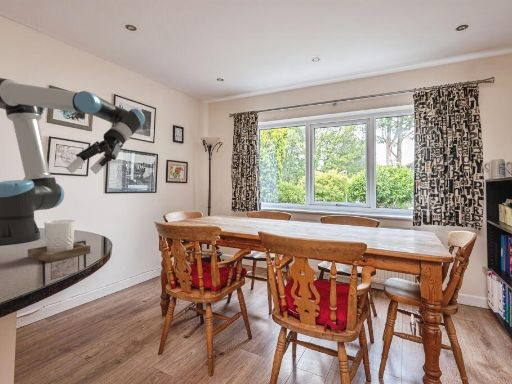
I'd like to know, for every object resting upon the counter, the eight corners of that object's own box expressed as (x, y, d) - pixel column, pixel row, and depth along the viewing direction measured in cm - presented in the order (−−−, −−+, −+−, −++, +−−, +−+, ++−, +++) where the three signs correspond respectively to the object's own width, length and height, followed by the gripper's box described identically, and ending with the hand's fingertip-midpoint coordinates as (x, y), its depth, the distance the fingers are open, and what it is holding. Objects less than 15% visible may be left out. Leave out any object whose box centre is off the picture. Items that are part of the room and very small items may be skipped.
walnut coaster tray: (27, 257, 85) (27, 249, 84) (68, 248, 95) (68, 241, 95) (50, 262, 80) (50, 254, 79) (90, 252, 90) (90, 245, 90)
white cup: (59, 256, 83) (59, 224, 83) (38, 254, 85) (37, 222, 84) (80, 250, 91) (80, 220, 90) (61, 248, 92) (60, 219, 92)
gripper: (144, 142, 109) (110, 179, 96) (103, 144, 119) (67, 177, 106) (134, 126, 104) (96, 163, 91) (91, 129, 114) (52, 163, 101)
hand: (80, 171), depth 98 cm, fingers open, 13 cm apart
